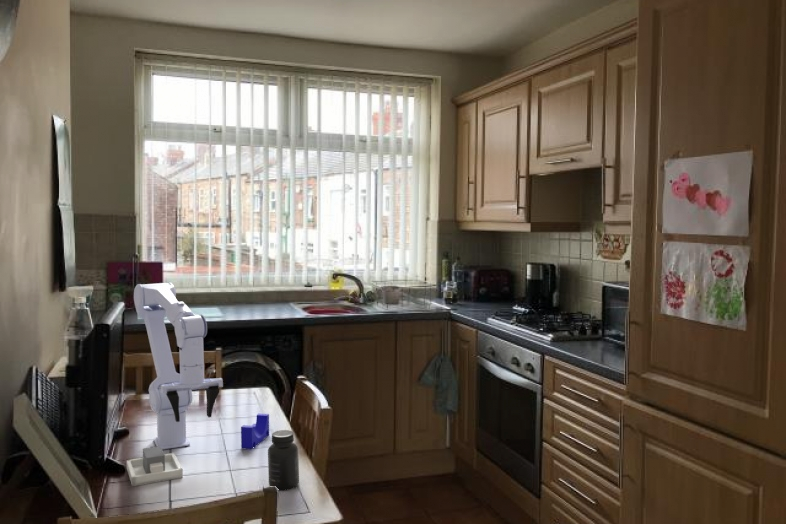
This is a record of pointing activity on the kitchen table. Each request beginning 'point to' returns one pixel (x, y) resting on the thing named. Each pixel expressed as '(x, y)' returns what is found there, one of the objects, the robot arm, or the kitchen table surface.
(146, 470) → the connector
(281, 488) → the supplement bottle
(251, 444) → the blue u-shaped cradle block
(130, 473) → the tray
